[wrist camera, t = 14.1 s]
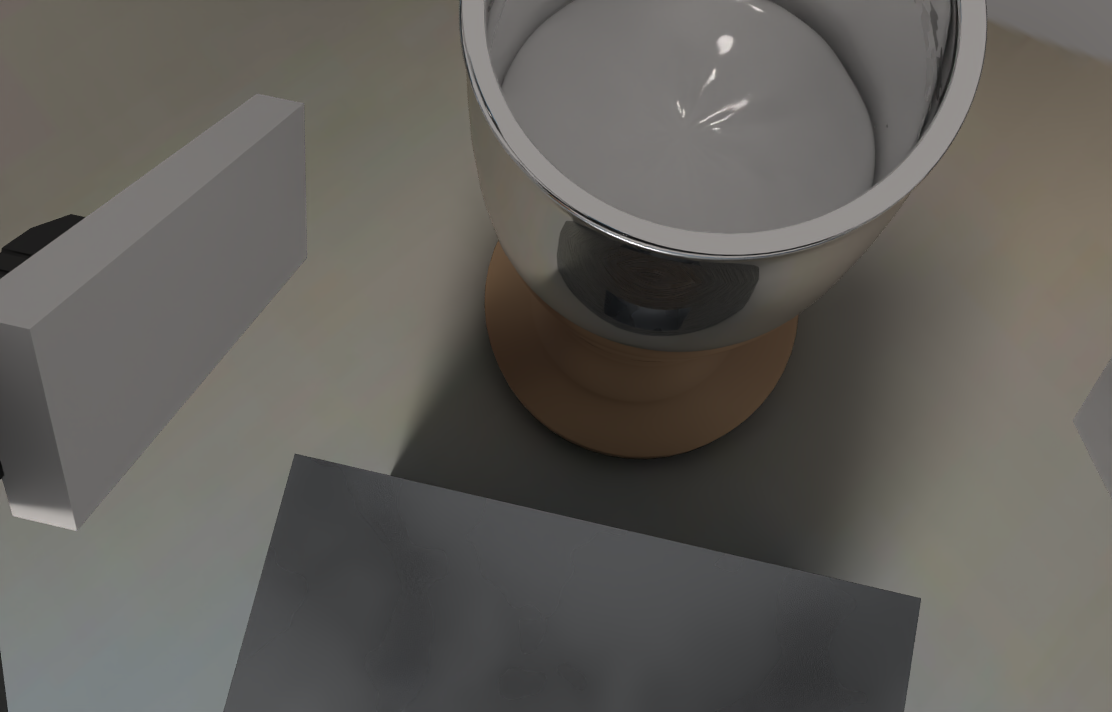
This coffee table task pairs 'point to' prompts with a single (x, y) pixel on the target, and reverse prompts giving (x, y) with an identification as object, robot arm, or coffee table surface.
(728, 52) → the beer glass
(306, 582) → the grey block with hole
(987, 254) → the coffee table surface
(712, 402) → the walnut coaster
